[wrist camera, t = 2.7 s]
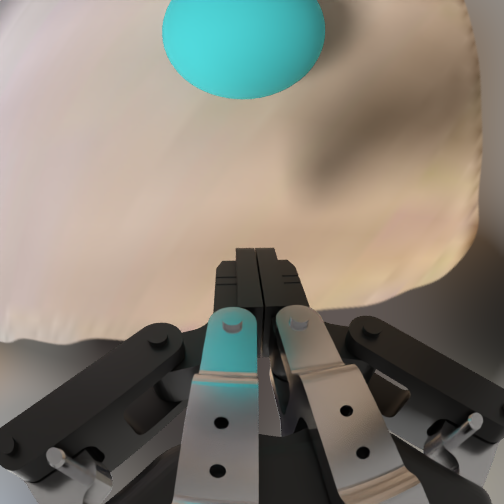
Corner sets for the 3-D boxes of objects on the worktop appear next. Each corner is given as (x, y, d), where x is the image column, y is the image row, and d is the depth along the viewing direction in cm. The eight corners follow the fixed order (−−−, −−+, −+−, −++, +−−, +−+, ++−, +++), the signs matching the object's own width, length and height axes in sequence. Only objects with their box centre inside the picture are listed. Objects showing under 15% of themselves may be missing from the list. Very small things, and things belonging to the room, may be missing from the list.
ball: (175, 103, 11) (137, 101, 6) (180, -2, 8) (154, -58, 3) (299, 104, 12) (350, 105, 7) (302, 2, 9) (347, -48, 4)
